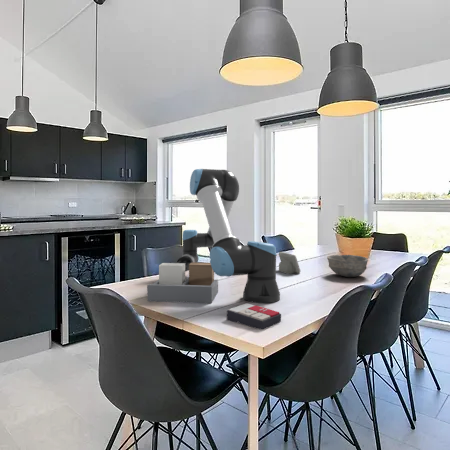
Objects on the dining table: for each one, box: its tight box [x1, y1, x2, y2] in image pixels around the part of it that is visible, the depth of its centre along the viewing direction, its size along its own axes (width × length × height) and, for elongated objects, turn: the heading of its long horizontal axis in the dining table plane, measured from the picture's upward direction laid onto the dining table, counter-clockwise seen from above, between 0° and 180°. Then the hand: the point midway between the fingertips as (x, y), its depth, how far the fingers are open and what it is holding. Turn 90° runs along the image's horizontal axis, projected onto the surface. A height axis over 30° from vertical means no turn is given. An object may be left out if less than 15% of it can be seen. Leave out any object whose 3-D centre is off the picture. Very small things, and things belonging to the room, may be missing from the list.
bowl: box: [326, 254, 369, 278], centre depth 201 cm, size 21×21×10 cm
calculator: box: [226, 303, 282, 330], centre depth 128 cm, size 11×4×15 cm
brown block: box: [188, 261, 215, 286], centre depth 166 cm, size 6×10×11 cm, turn 83°
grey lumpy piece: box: [278, 251, 301, 275], centre depth 213 cm, size 16×9×11 cm, turn 10°
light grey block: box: [158, 262, 186, 285], centre depth 164 cm, size 6×10×11 cm, turn 83°
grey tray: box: [146, 278, 219, 304], centre depth 160 cm, size 18×26×6 cm
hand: (173, 271), depth 167 cm, fingers closed
